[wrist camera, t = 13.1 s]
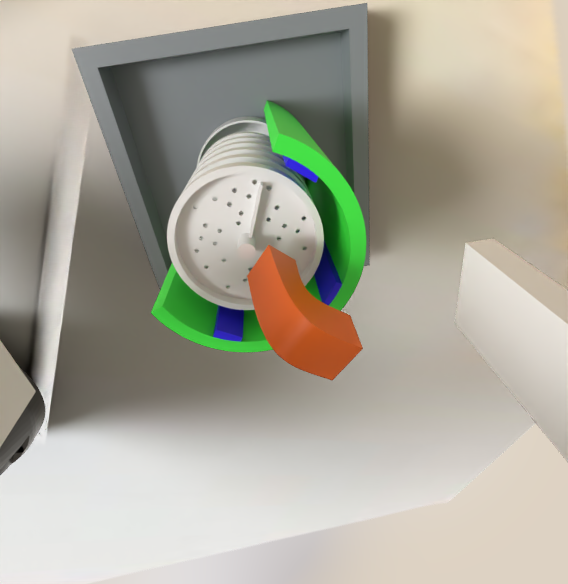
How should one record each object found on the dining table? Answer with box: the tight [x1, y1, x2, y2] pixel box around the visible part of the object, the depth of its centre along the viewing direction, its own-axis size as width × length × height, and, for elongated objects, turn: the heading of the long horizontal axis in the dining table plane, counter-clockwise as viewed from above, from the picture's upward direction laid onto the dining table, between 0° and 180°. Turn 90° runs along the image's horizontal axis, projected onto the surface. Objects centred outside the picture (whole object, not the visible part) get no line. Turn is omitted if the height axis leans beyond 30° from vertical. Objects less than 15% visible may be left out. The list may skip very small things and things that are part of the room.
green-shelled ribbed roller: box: [151, 100, 366, 380], centre depth 18 cm, size 9×8×18 cm
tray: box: [72, 3, 370, 290], centre depth 25 cm, size 16×16×3 cm
